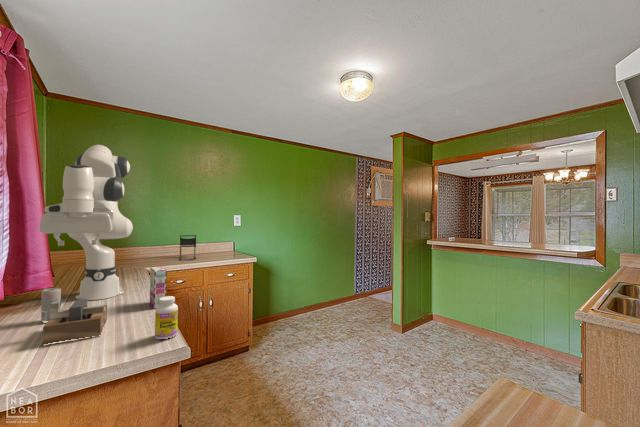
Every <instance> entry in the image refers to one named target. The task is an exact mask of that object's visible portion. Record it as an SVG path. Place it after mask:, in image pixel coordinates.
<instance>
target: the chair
mask: <svg viewBox="0 0 640 427" xmlns="http://www.w3.org/2000/svg"><path fill="white" fill-rule="evenodd" d="M182 237H193V238H182ZM182 248H194V249H193V258H187V259H186V258H185V259H184V258H183V259H182ZM196 248H197V234H182V235H179V261H181V260H185V261H194V259H195V260H197V258H196Z"/></svg>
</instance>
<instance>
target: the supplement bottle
mask: <svg viewBox="0 0 640 427" xmlns="http://www.w3.org/2000/svg"><path fill="white" fill-rule="evenodd" d="M175 297H176V296H172V295H168V296H167V295H166V297H162V298H160V299H159V303H160V305H159V306H158V307H157V308H156V309H155V311H154V312H155V315H154V316H155V317H154V318H155V319H154V320H155V322H154V325H155V326H154V337H155V339H156V340H158V339H166V340H169V339H168V338H170V339H173V338H175V337H176V336H177V335H178V326H179V325H178V324H179V323H178V322H179V319H178V317H179V316H178V315H179V306H178V305H177V304H176V303H175V301H176V298H175ZM175 335H176V336H175ZM174 336H175V337H174ZM172 337H173V338H172Z"/></svg>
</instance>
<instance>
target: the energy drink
mask: <svg viewBox="0 0 640 427" xmlns="http://www.w3.org/2000/svg"><path fill="white" fill-rule="evenodd" d="M41 291H42V292H41V297H40V299H41V305H40V306H41V307H40V308H41V309H40V314H41V316H40V318H41V319H40V322H41V321H49V320H50V304H51V303H53V302H60V310H62V288H60V287H52V288H51V287H50V288H45V289H43V290H41Z"/></svg>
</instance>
